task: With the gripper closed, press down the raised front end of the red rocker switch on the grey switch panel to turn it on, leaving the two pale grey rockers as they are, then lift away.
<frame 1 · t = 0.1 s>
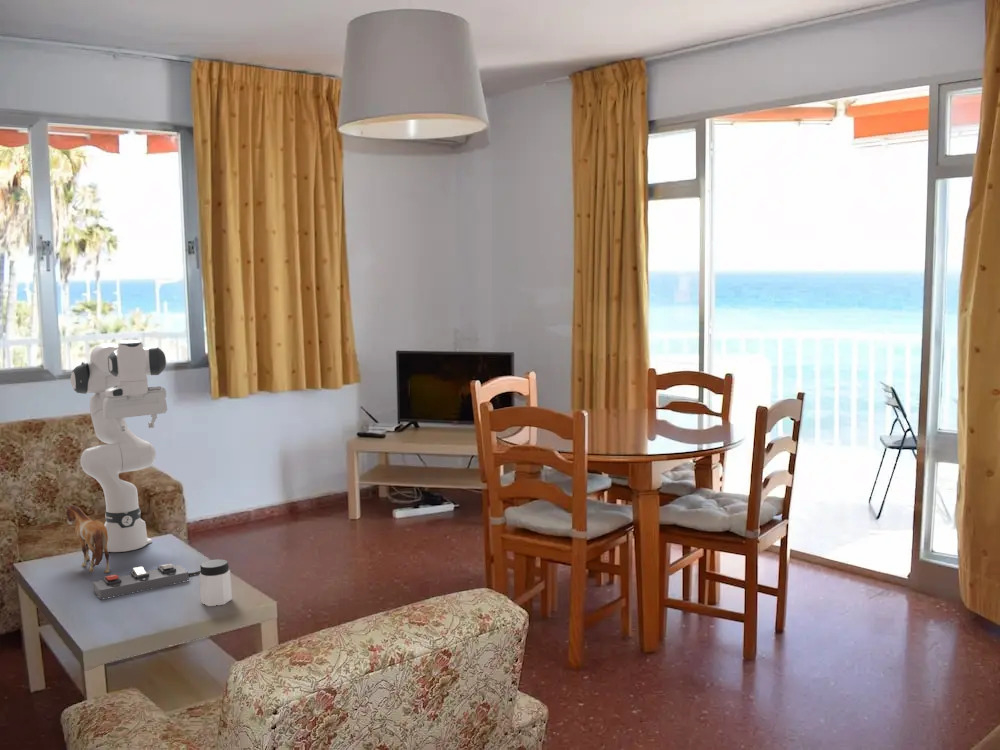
hand: (136, 429, 311), 48 cm above the table, tool pointing down, fingers open, 8 cm apart
jar: (216, 602, 281), on the table
grey rocker end: (166, 567, 303), point 4 cm above the table, hinge at -12.0°
grey switch panel: (141, 586, 297), on the table
red rocker: (111, 578, 293), point 4 cm above the table, hinge at -12.0°
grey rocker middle: (139, 572, 298), point 4 cm above the table, hinge at 12.0°
horse figurine: (84, 571, 315), on the table
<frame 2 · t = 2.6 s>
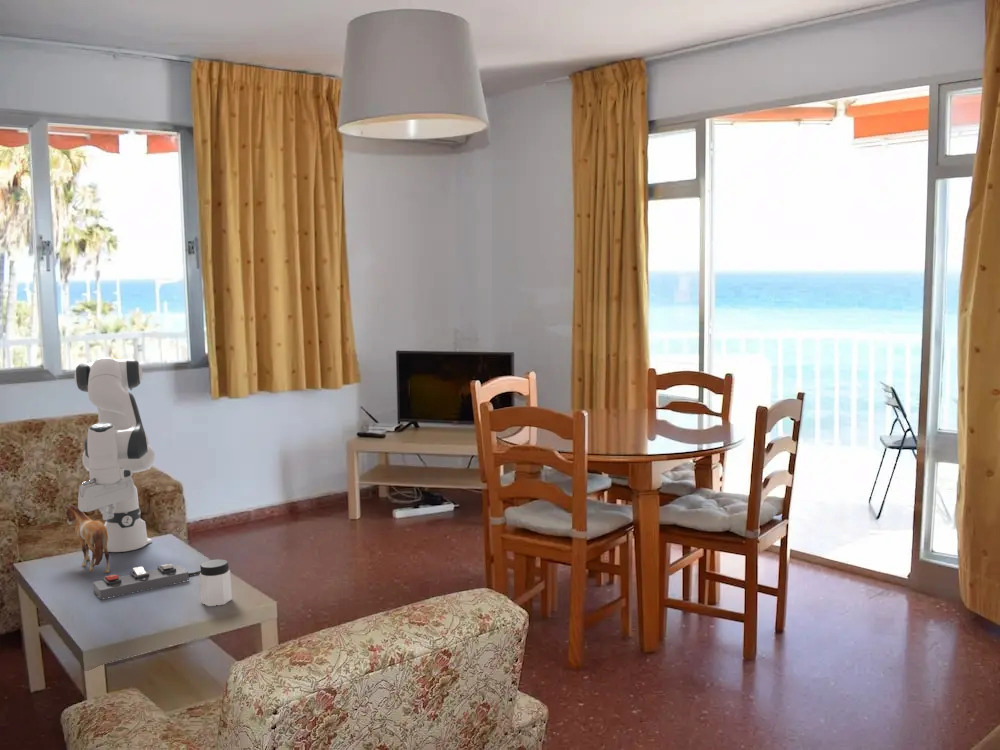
hand: (108, 518, 290), 24 cm above the table, tool pointing down, fingers closed
nothing on the table moved.
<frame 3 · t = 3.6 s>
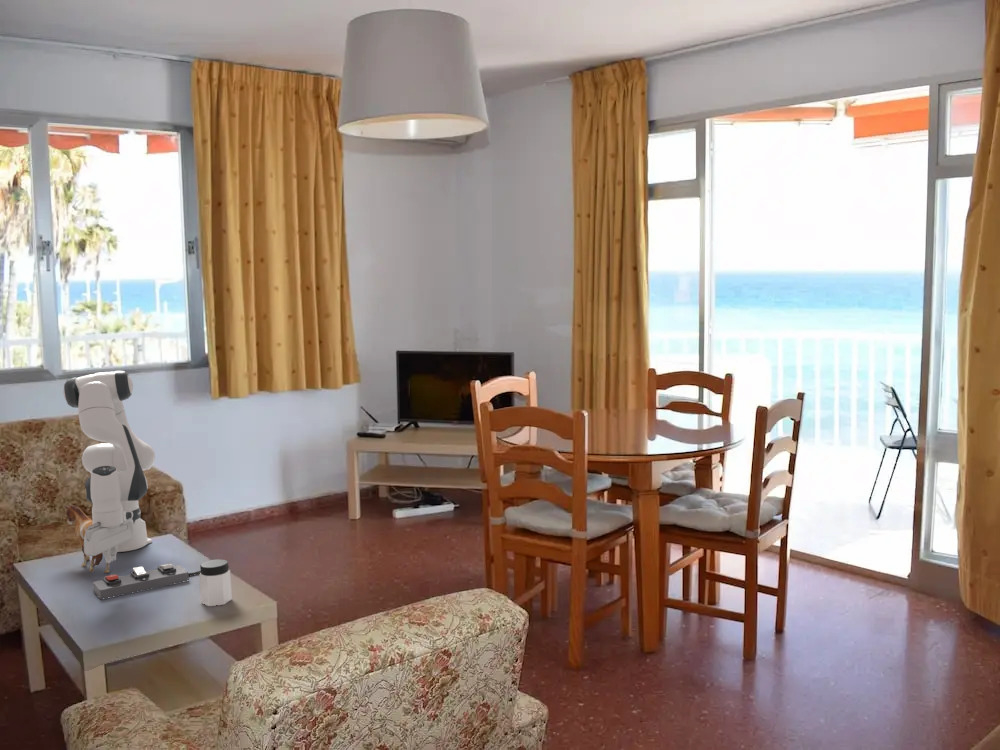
hand: (111, 561, 291), 10 cm above the table, tool pointing down, fingers closed
nothing on the table moved.
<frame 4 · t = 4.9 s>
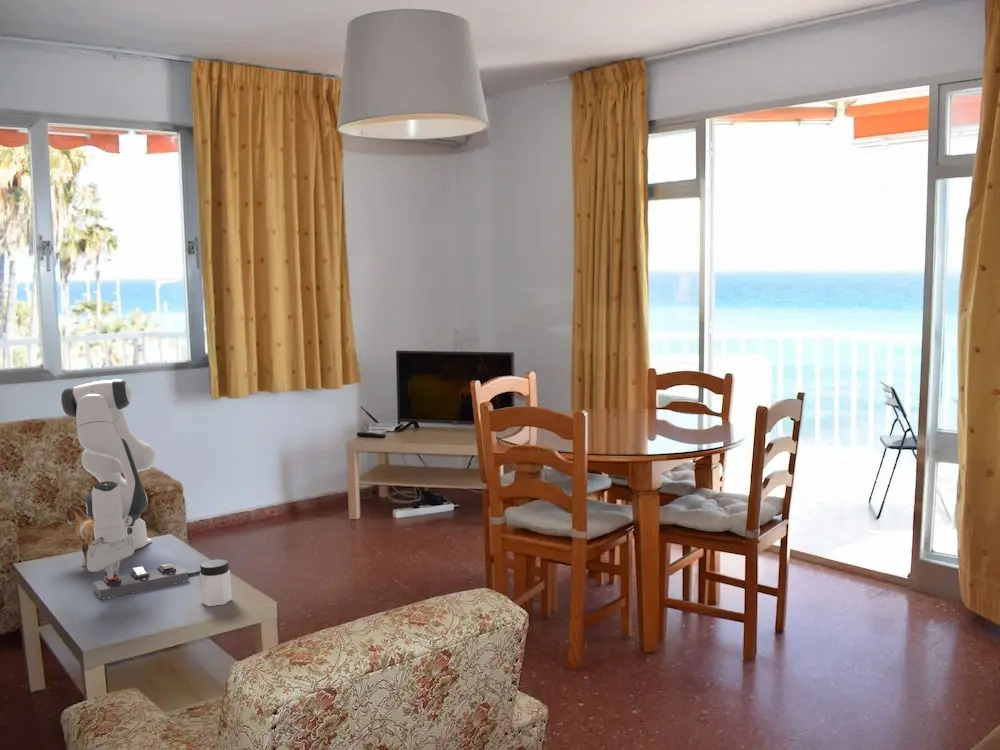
hand: (112, 577, 291), 5 cm above the table, tool pointing down, fingers closed, pressing on red rocker
red rocker: (111, 578, 293), point 4 cm above the table, hinge at -9.7°, touching gripper
everything else where it was.
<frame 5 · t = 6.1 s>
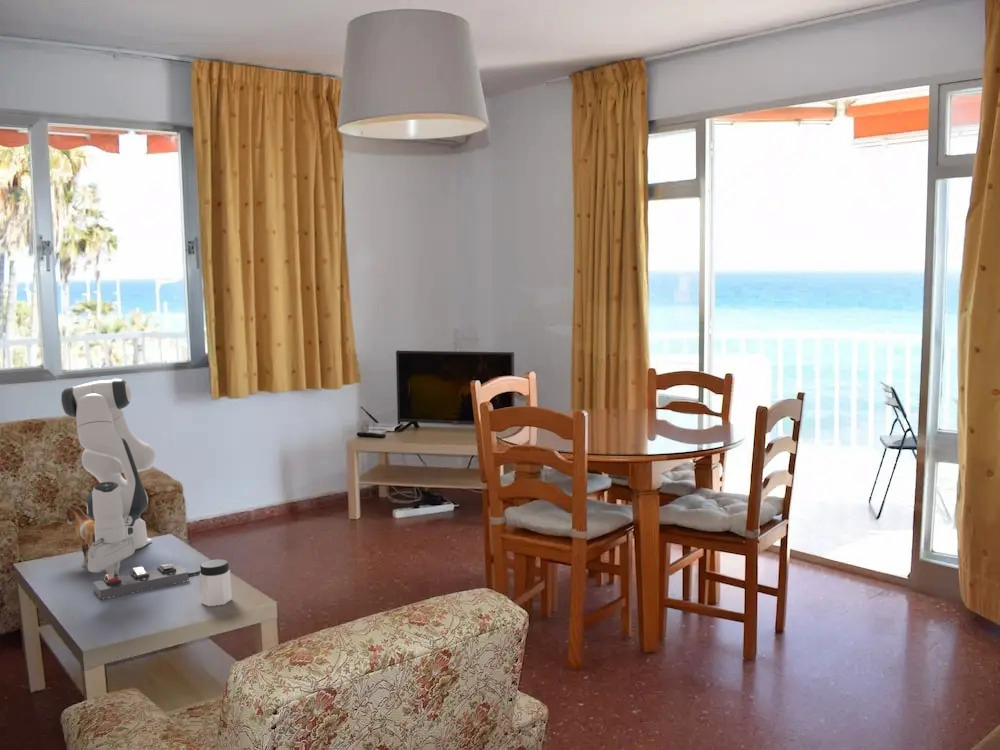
hand: (113, 577, 292), 5 cm above the table, tool pointing down, fingers closed
red rocker: (111, 578, 293), point 4 cm above the table, hinge at 5.3°
everything else where it was.
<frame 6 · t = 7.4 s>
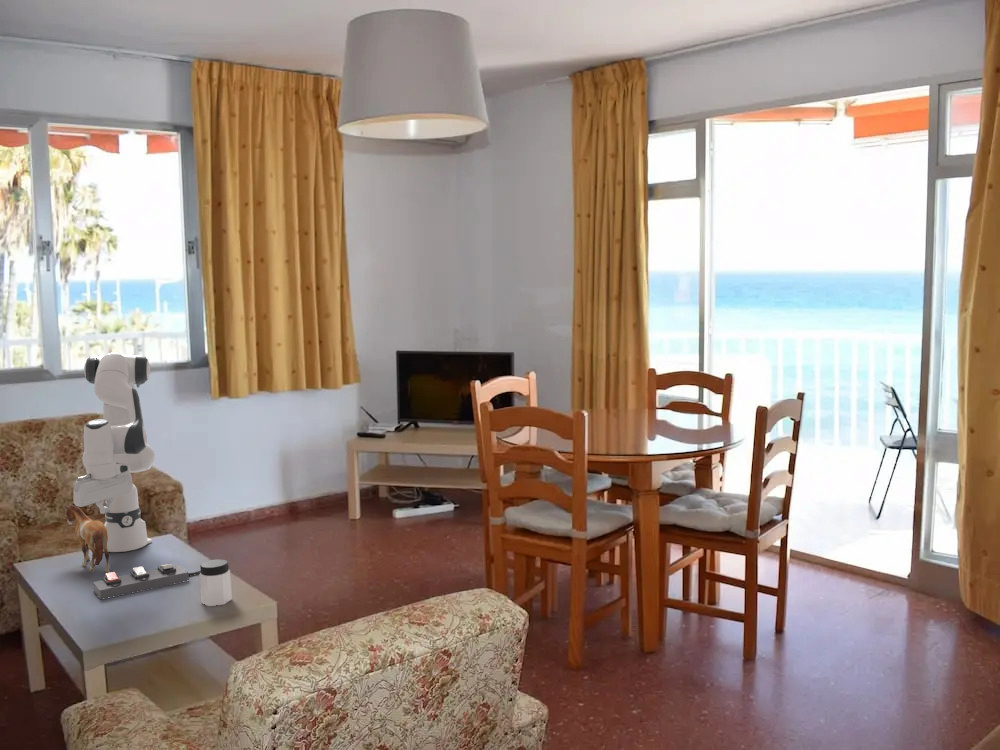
hand: (105, 512, 297), 24 cm above the table, tool pointing down, fingers closed
red rocker: (111, 578, 293), point 4 cm above the table, hinge at 11.3°
everything else where it was.
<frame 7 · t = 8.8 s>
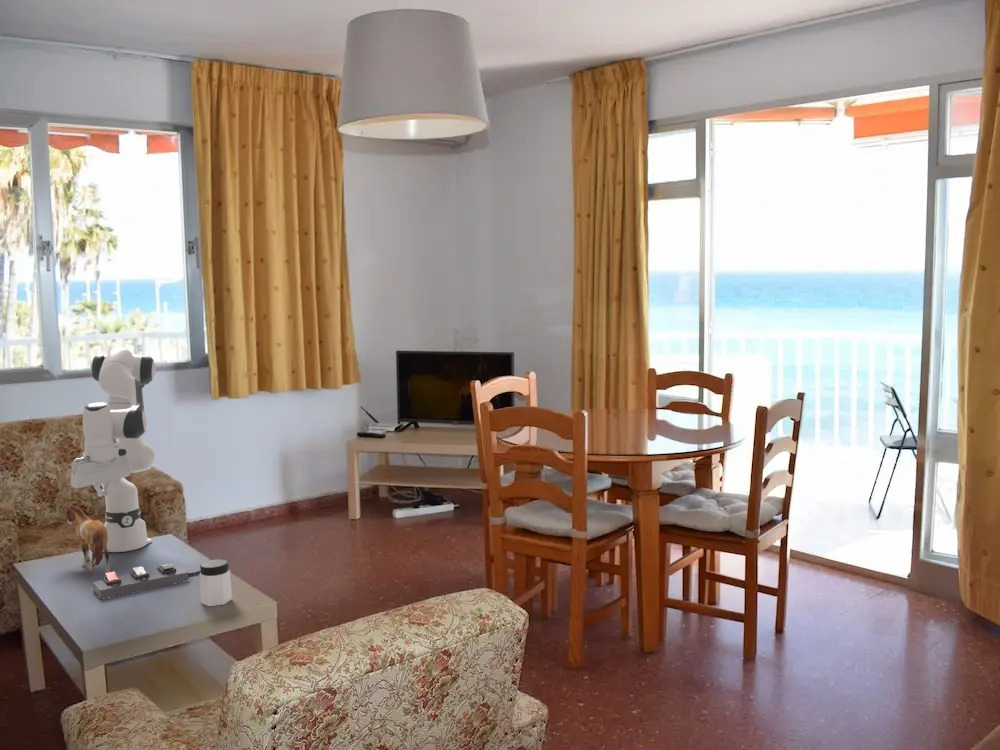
hand: (103, 495, 298), 29 cm above the table, tool pointing down, fingers closed
red rocker: (111, 578, 293), point 4 cm above the table, hinge at 15.7°
everything else where it was.
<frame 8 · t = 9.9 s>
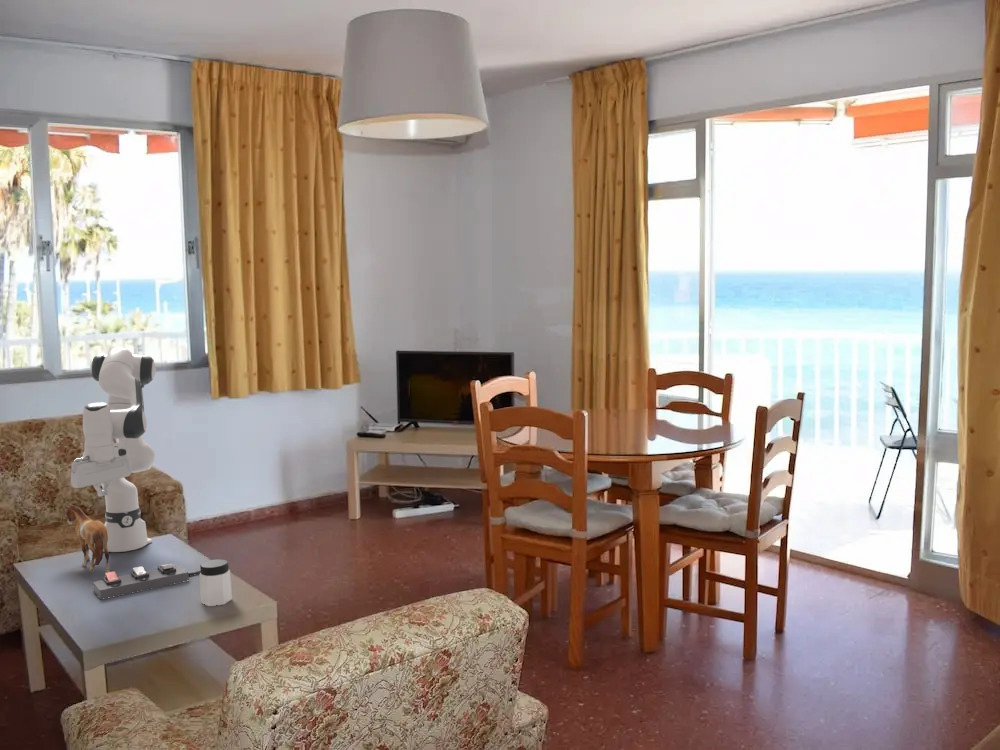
hand: (103, 495, 298), 29 cm above the table, tool pointing down, fingers closed
red rocker: (111, 578, 293), point 4 cm above the table, hinge at 18.2°
everything else where it was.
at the end: red rocker at +19° (first picture: -12°); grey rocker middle at +12° (first picture: +12°); grey rocker end at -12° (first picture: -12°) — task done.
